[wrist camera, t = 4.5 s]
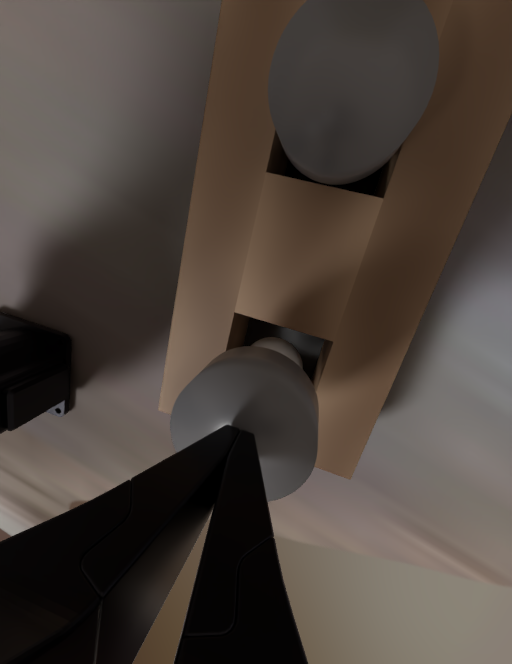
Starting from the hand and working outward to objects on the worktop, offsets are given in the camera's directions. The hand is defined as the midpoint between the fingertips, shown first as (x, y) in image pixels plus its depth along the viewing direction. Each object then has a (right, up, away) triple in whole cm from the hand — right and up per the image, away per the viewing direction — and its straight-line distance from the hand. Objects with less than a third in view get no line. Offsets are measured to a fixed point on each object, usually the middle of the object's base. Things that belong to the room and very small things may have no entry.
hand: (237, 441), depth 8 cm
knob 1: (+1, +2, +6) cm, 6 cm away
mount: (+3, +7, +7) cm, 10 cm away
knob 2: (+4, +12, +5) cm, 13 cm away
